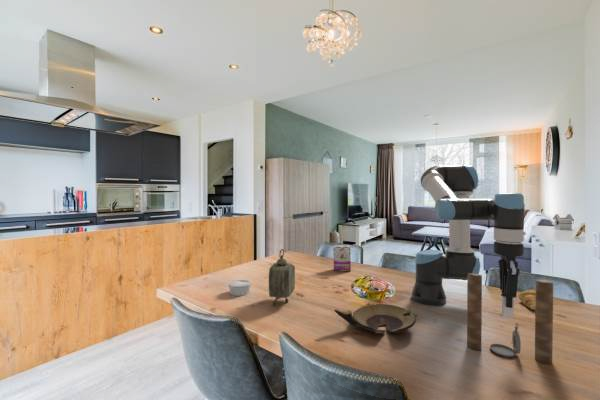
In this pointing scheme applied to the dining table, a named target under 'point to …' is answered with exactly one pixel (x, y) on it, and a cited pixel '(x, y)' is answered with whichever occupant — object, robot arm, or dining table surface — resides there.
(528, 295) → the croissant
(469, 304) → the post left
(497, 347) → the pocket watch
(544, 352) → the post right
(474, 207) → the robot arm
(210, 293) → the dining table surface
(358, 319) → the oil lamp
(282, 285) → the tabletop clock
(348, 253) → the candy bar box
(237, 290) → the ramekin
